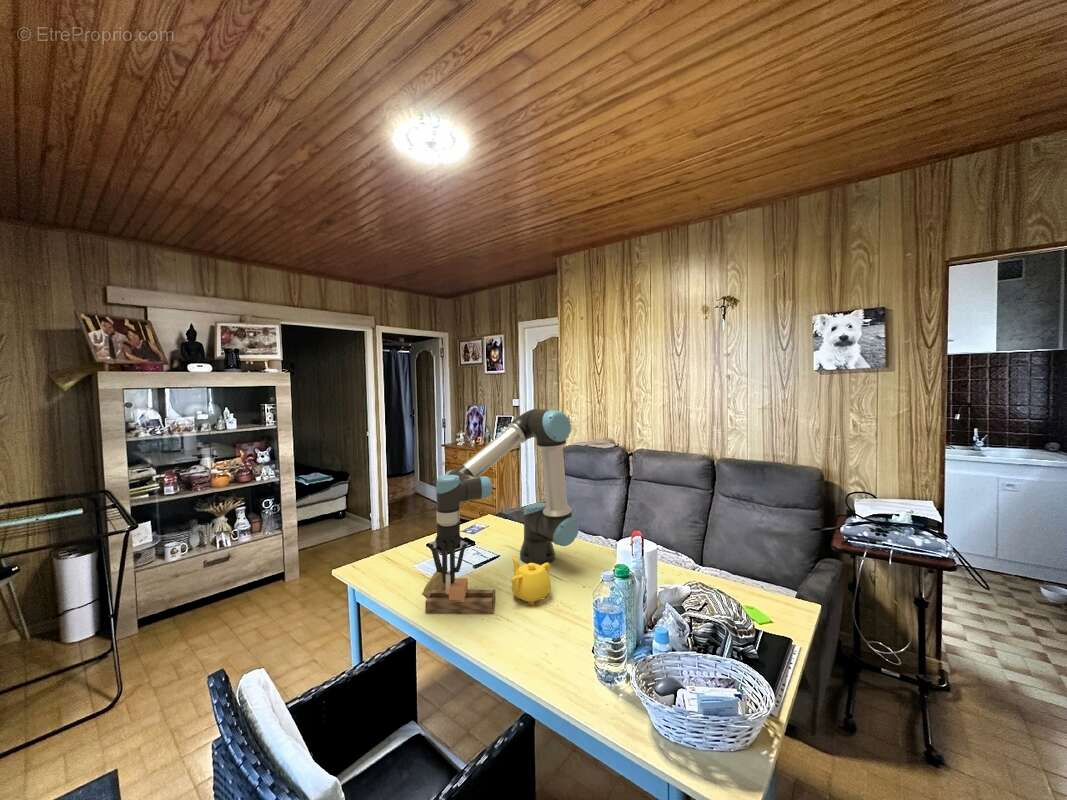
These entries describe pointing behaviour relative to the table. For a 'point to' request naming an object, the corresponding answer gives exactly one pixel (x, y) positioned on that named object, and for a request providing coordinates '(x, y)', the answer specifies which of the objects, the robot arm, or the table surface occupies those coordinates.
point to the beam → (461, 602)
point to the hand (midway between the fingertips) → (448, 592)
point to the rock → (435, 584)
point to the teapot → (530, 581)
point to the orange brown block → (458, 589)
